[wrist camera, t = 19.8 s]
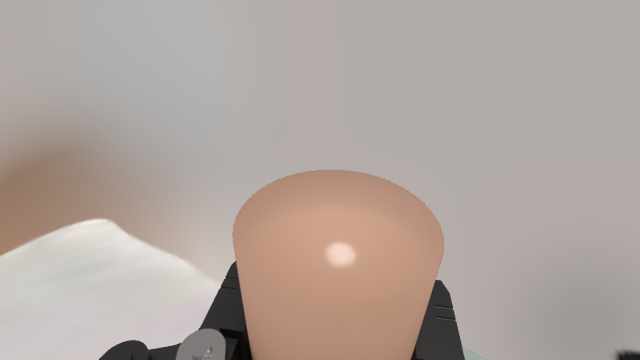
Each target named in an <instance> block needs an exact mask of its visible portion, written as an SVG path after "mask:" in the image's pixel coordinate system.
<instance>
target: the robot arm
mask: <svg viewBox="0 0 640 360" xmlns="http://www.w3.org/2000/svg"><path fill="white" fill-rule="evenodd" d="M99 360H252V356H251V350H250V344H249V337H248V331H247V325H246V319H245V313H244V307H243V300H242V294H241V288H240V282H239V276H238V270H237V264H236V261H235V262H234V263H233V264H232V265H231V267H230V269H229V271H228V273H227V275H226V278H225V279H224V281H223V283H222V285H221V288H220V289H219V291H218V293H217V295H216V297H215V299H214V301H213V303H212V305H211V307H210V309H209V311H208V313H207V315H206V317H205V319H204V321H203V323H202V325H201V327H200V328H199V330H198V331H196V332H194V333H192V334H190V335H189V336H188V337H187V338H186V339H185V340H184V341H183V342H182V343H180V344H177V345H173V346H168V347H162V348H156V349H151V350H148V348H147V346H146V345H145V344H144V343H142V342H140V341H136V340H130V341H125V342H122V343H120V344H117V345H116V346H114V347H112V348H111V349H110V350H108V351H107V352H106V353H105V354H104V355H103V356H102V357H101V358H100V359H99ZM411 360H465V357H464V353H463V349H462V344H461V340H460V336H459V331H458V327H457V323H456V321H455V314H454V310H453V306H452V302H451V297H450V293H449V292H448V290H447V289H446V287H445V286H444V284H443V283H442V281H440V280H435V283H434V286H433V289H432V293H431V296H430V299H429V302H428V305H427V309H426V312H425V315H424V318H423V322H422V325H421V328H420V331H419V335H418V338H417V341H416V344H415V347H414V351H413V354H412V357H411Z"/></svg>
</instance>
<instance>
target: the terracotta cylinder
mask: <svg viewBox="0 0 640 360" xmlns="http://www.w3.org/2000/svg"><path fill="white" fill-rule="evenodd" d="M233 245H234V251H235V257H236V264H237V270H238V276H239V282H240V288H241V294H242V300H243V307H244V313H245V319H246V325H247V331H248V337H249V344H250V350H251V356H252V360H411V357H412V354H413V351H414V347H415V344H416V341H417V338H418V335H419V331H420V328H421V325H422V322H423V318H424V315H425V312H426V309H427V305H428V302H429V299H430V296H431V293H432V289H433V286H434V283H435V280H436V276H437V273H438V270H439V267H440V264H441V260H442V257H443V251H444V239H443V234H442V230H441V227H440V225H439V223H438V221H437V219H436V218H435V216H434V215H433V213H432V212H431V210H430V209H429V208H428V207H427V206H426V205H425V204H424V203H423V202H422V201H421V200H420V199H419V198H417V197H416V196H415V195H413V194H412V193H410V192H409V191H408V190H405V189H404V188H402V187H401V186H399V185H396V184H394V183H392V182H390V181H387V180H385V179H382V178H379V177H376V176H373V175H369V174H364V173H359V172H353V171H344V170H317V171H309V172H303V173H298V174H294V175H290V176H287V177H284V178H281V179H279V180H276V181H274V182H272V183H270V184H268V185H266V186H265V187H263V188H261V189H260V190H259V191H257V192H256V193H255V194H253V195H252V196H251V197H250V198H249V199H248V200H247V201H246V202H245V204H244V205H243V206H242V208H241V209H240V211H239V213H238V215H237V217H236V219H235V223H234V226H233Z"/></svg>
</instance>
